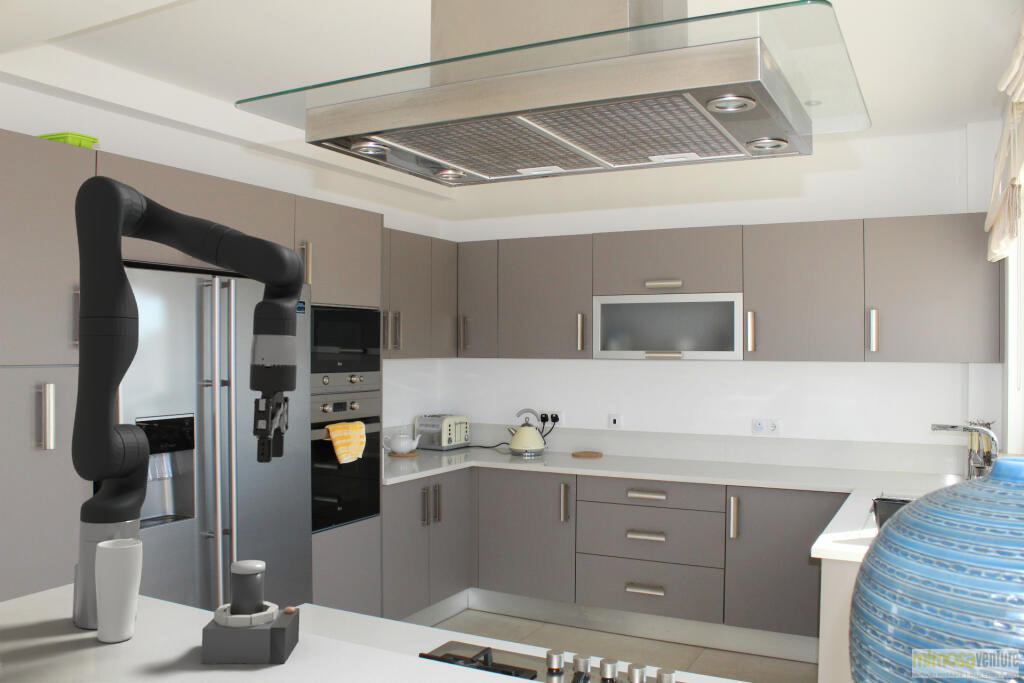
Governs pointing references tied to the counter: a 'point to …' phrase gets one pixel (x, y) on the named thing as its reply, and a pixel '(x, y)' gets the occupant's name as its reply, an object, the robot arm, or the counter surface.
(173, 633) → the counter surface
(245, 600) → the dark capped cylinder
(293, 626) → the block with octagonal ring
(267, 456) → the robot arm
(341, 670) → the counter surface
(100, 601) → the drinking glass
